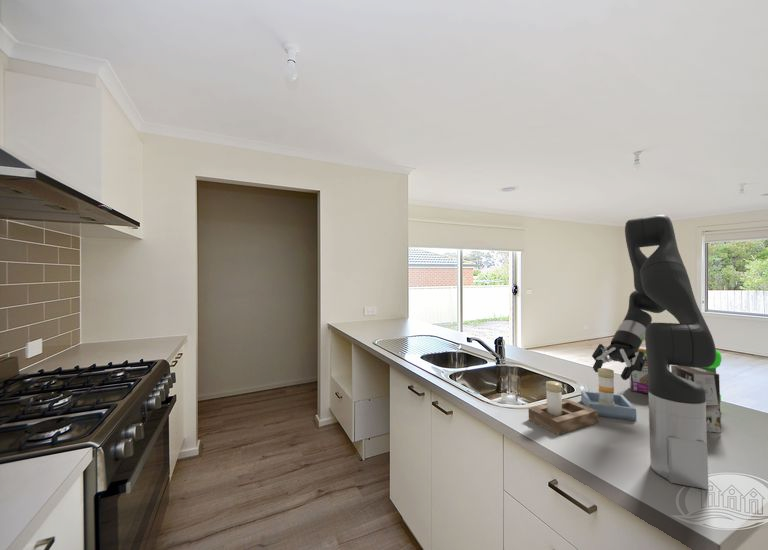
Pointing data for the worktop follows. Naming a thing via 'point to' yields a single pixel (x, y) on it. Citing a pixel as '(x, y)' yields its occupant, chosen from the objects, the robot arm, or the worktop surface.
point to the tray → (609, 406)
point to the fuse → (554, 398)
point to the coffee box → (711, 390)
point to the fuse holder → (564, 417)
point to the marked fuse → (606, 386)
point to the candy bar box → (640, 375)
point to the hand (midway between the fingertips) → (608, 374)
